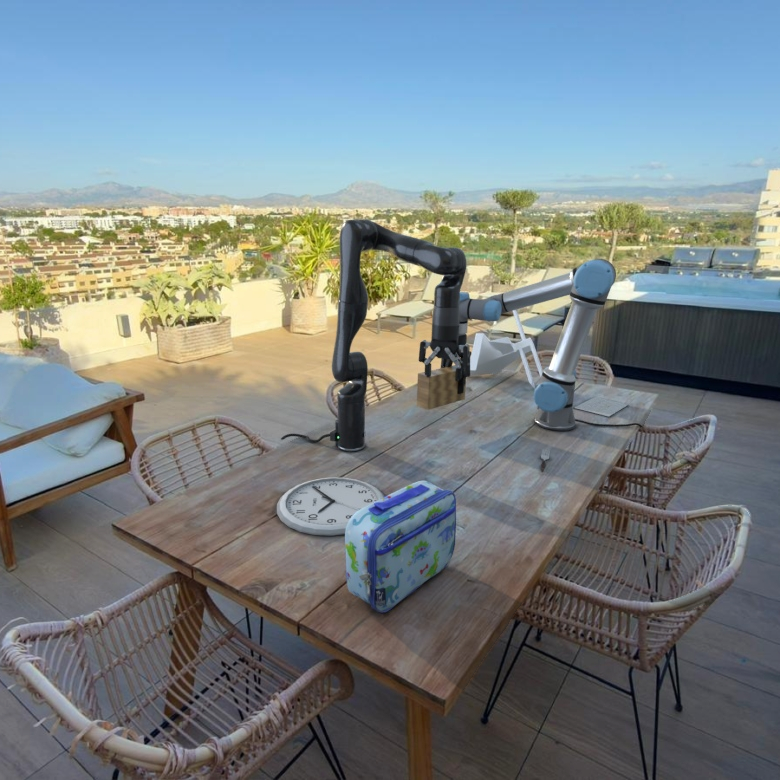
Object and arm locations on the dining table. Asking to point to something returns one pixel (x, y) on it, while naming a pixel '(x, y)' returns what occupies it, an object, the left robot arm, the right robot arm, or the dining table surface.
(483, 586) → the dining table surface
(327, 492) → the wall clock
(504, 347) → the white plastic object
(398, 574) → the lunch box
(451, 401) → the box
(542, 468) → the fork
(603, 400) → the invitation card
